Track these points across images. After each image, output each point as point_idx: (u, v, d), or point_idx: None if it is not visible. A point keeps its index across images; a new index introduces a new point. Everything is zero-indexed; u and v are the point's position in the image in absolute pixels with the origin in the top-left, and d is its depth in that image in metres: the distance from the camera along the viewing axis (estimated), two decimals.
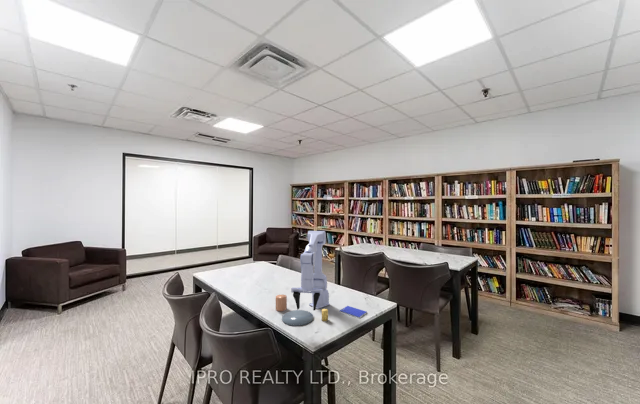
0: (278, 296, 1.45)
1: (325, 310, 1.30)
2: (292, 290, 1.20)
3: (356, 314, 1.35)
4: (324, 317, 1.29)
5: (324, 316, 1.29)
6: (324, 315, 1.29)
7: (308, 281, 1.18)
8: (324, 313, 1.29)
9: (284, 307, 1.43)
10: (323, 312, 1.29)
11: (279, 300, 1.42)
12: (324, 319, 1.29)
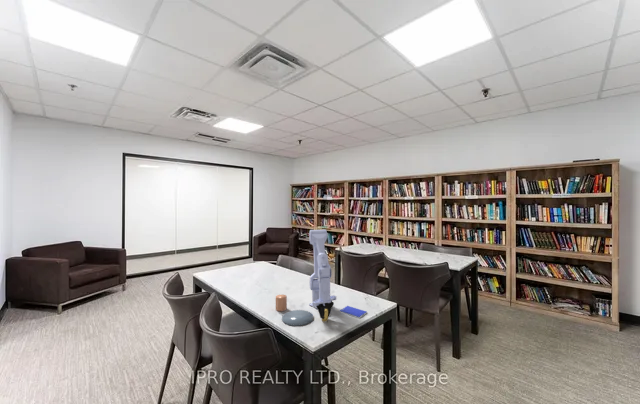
0: (278, 296, 1.45)
1: (325, 310, 1.30)
2: (315, 305, 1.26)
3: (356, 314, 1.35)
4: (324, 317, 1.29)
5: (324, 316, 1.29)
6: (324, 315, 1.29)
7: (329, 292, 1.29)
8: (324, 313, 1.29)
9: (284, 307, 1.43)
10: None
11: (279, 300, 1.42)
12: (324, 319, 1.29)
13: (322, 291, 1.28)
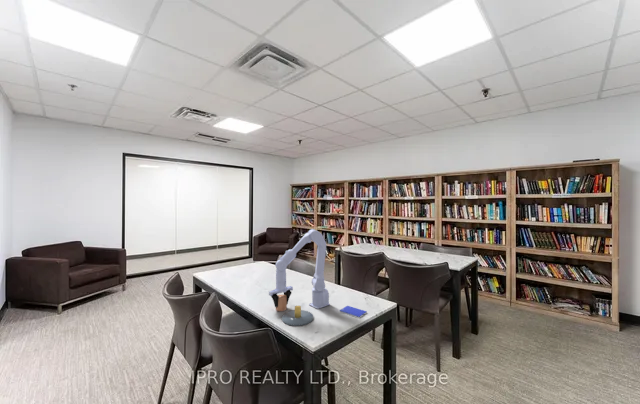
0: None
1: (298, 307, 1.32)
2: (271, 294, 1.40)
3: (356, 314, 1.35)
4: (297, 314, 1.31)
5: (297, 313, 1.31)
6: (297, 312, 1.31)
7: (285, 283, 1.44)
8: (297, 309, 1.31)
9: (284, 307, 1.43)
10: (296, 309, 1.31)
11: (279, 300, 1.42)
12: (297, 316, 1.31)
13: None
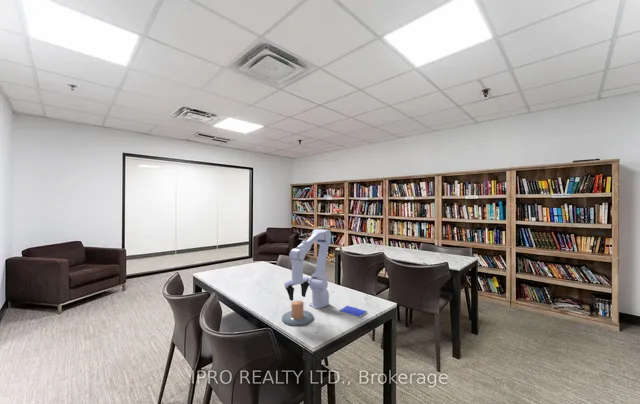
0: (294, 303, 1.32)
1: None
2: (287, 285, 1.28)
3: (356, 314, 1.35)
4: None
5: None
6: None
7: (302, 274, 1.31)
8: None
9: (301, 315, 1.30)
10: None
11: (296, 307, 1.30)
12: None
13: (292, 271, 1.31)
